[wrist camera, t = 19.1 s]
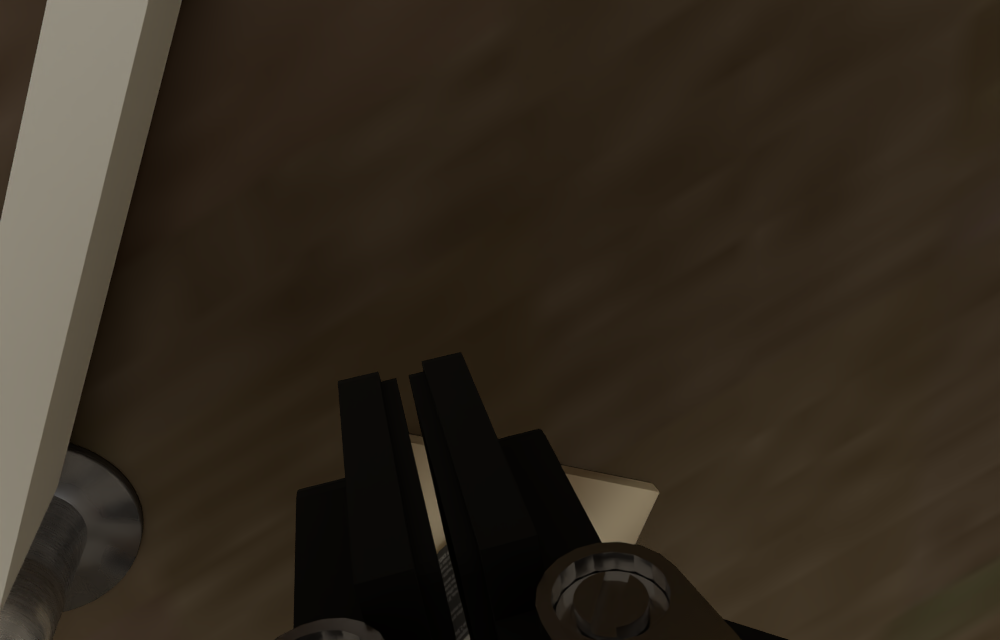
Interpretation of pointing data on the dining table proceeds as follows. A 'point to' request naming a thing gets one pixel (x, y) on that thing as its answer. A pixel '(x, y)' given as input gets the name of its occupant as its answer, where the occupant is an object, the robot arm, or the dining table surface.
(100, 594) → the gate posts
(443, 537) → the coaster
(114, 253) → the gate
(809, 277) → the dining table surface
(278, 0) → the dining table surface
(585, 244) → the dining table surface
